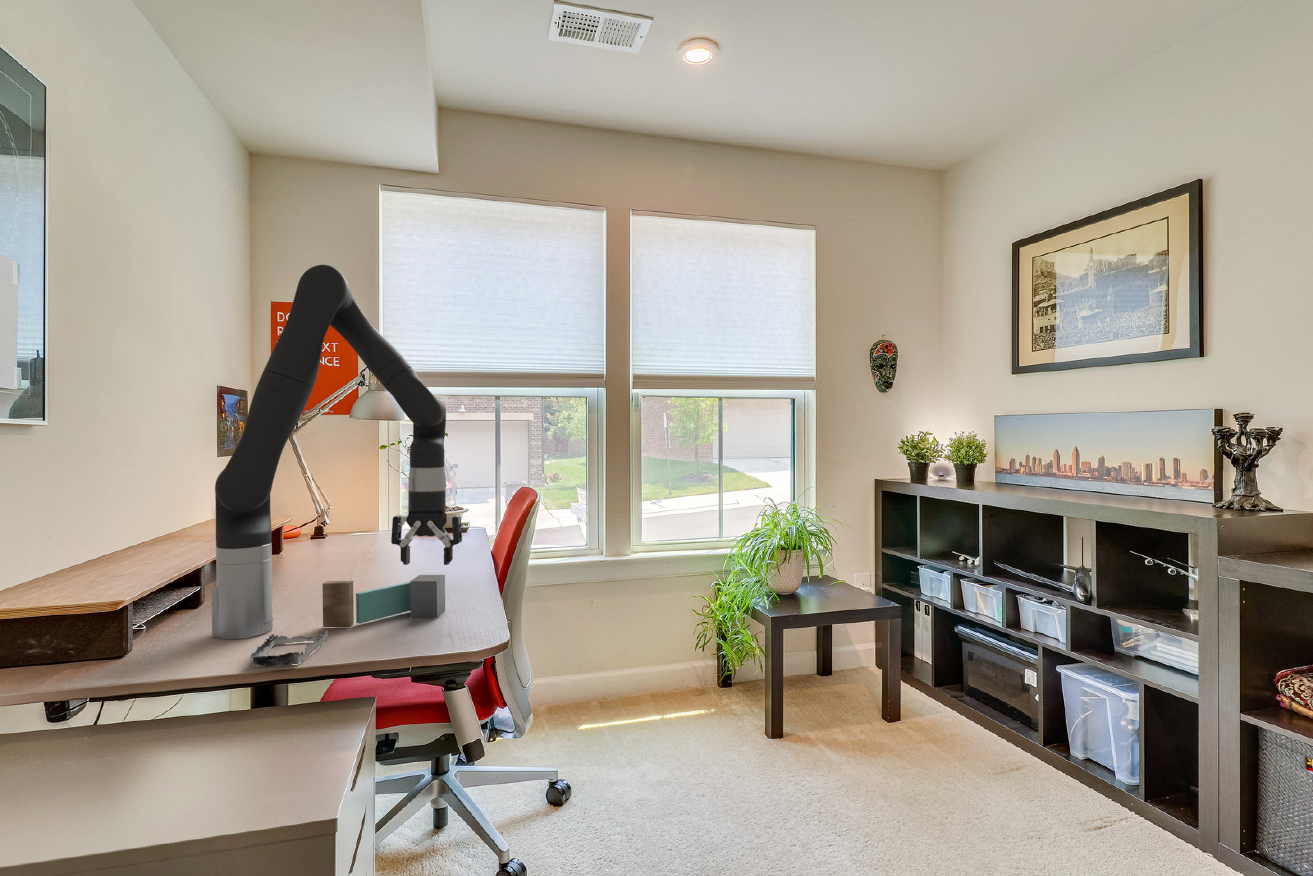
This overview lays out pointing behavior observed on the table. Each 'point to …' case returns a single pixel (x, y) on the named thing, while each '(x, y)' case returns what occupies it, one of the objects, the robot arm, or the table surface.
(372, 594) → the door
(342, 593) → the wall frame
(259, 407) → the robot arm
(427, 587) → the block
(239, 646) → the table surface
